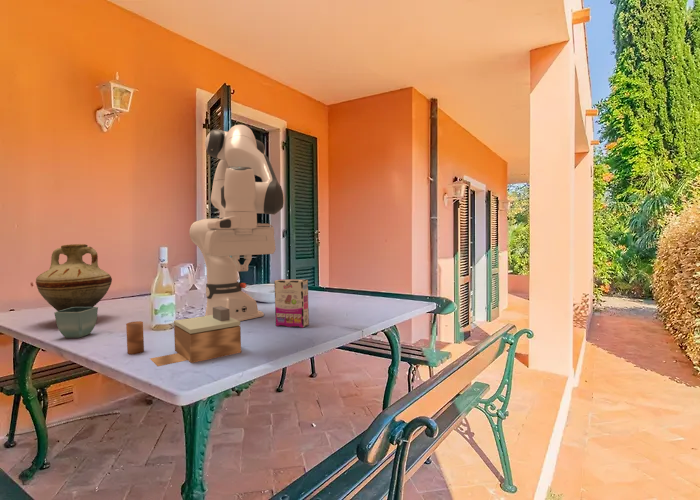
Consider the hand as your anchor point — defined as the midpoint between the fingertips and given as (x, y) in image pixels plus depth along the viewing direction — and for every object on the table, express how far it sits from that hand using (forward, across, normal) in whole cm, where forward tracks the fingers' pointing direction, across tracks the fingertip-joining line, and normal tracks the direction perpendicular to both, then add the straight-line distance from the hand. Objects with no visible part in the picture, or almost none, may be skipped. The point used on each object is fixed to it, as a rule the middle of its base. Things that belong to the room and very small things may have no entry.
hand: (242, 271), depth 113 cm
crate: (+22, +14, 0) cm, 26 cm away
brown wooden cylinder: (+22, +25, -13) cm, 36 cm away
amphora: (+22, +33, -76) cm, 86 cm away
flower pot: (+22, +35, -50) cm, 65 cm away
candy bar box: (+22, -25, -14) cm, 36 cm away
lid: (+14, +10, 0) cm, 17 cm away
